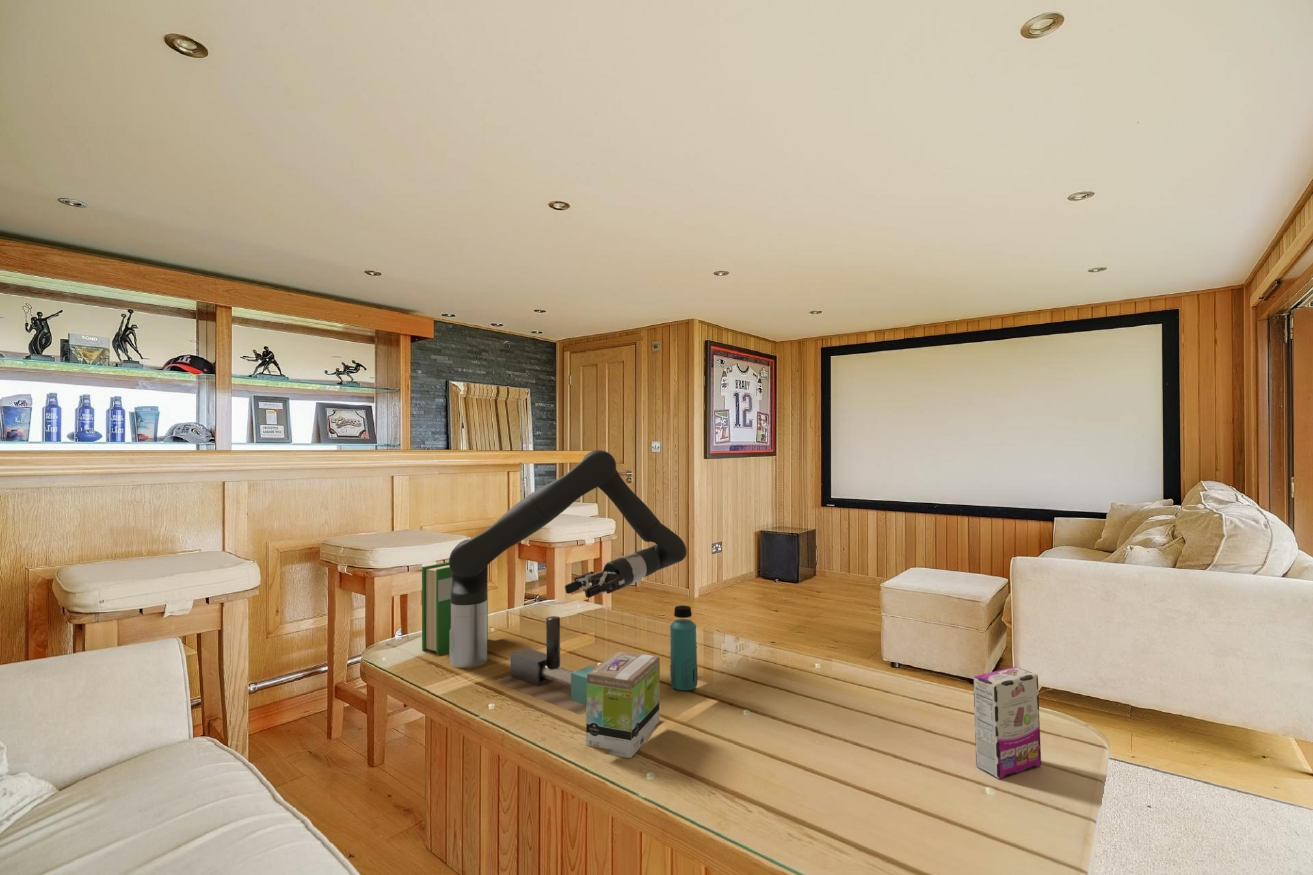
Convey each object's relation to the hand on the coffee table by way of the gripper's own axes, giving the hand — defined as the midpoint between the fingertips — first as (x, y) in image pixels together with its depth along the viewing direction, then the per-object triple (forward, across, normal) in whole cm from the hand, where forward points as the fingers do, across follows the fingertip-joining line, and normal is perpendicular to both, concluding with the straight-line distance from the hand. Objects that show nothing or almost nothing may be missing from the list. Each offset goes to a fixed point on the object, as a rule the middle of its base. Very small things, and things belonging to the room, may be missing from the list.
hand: (575, 591), depth 153 cm
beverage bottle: (-11, +21, +26) cm, 35 cm away
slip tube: (+11, -3, +18) cm, 21 cm away
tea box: (+14, +30, +22) cm, 39 cm away
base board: (+11, +1, +21) cm, 23 cm away
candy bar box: (-27, +85, +32) cm, 95 cm away
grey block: (+12, -8, +19) cm, 24 cm away
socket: (+9, +12, +20) cm, 25 cm away
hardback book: (+12, -50, +18) cm, 55 cm away
